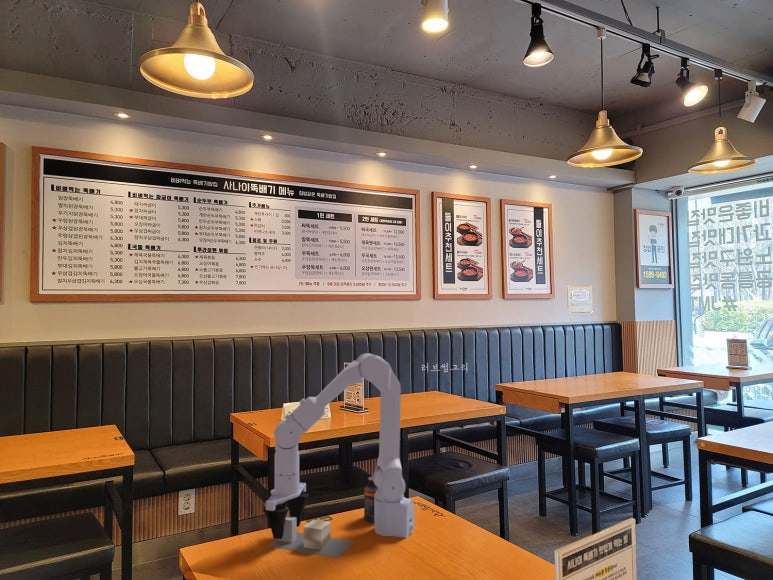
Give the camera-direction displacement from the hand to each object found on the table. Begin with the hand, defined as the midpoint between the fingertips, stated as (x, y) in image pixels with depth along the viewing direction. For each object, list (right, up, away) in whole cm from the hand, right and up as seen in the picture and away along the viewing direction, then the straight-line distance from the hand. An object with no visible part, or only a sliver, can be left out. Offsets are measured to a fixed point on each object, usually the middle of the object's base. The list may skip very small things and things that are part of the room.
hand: (286, 531), depth 123 cm
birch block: (+7, -2, -3) cm, 8 cm away
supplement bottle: (+21, -4, +13) cm, 24 cm away
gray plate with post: (+6, -3, -3) cm, 7 cm away
